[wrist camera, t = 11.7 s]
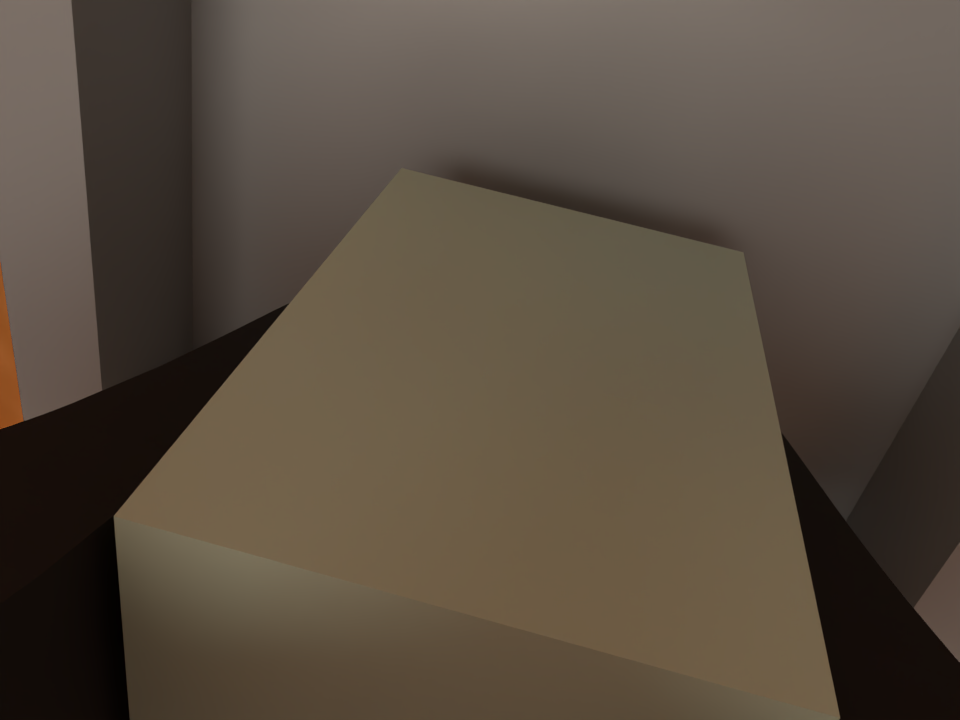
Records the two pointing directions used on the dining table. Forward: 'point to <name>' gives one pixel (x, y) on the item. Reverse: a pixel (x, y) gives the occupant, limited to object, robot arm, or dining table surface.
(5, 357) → the dining table surface
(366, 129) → the tray
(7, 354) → the dining table surface
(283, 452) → the sage block
